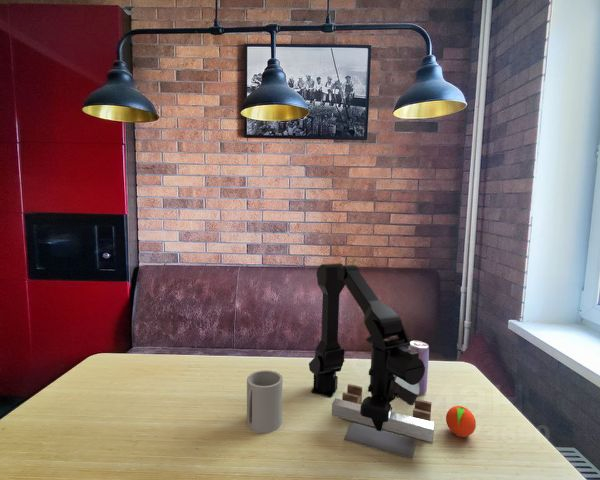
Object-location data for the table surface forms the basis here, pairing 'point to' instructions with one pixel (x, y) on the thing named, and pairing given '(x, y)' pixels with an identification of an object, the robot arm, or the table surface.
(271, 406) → the cup
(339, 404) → the rail
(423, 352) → the beverage can
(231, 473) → the table surface
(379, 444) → the mat
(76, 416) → the table surface
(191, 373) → the table surface
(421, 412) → the rack
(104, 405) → the table surface
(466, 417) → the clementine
